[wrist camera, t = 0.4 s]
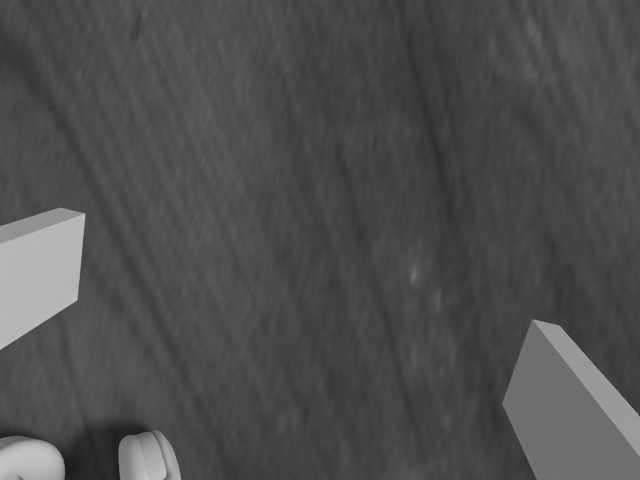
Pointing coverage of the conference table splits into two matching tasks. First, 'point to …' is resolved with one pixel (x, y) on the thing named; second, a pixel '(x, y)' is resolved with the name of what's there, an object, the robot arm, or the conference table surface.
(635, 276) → the conference table surface
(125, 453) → the headphones
